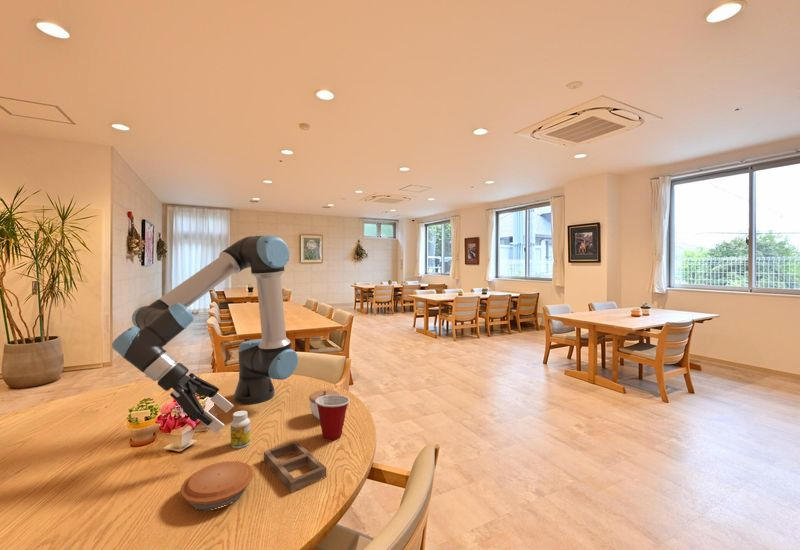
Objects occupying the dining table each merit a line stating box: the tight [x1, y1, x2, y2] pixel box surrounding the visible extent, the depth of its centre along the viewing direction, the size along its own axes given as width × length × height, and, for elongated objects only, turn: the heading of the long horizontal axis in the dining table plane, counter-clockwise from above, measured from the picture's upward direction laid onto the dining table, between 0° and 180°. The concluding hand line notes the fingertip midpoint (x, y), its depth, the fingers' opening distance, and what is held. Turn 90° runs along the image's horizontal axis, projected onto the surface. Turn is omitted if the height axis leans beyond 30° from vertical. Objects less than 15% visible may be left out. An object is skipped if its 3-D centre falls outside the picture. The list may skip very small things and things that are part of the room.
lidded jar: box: [308, 389, 341, 421], centre depth 127 cm, size 11×11×9 cm
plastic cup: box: [315, 394, 351, 441], centre depth 113 cm, size 11×11×12 cm
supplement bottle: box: [230, 410, 251, 449], centre depth 107 cm, size 5×5×10 cm
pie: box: [179, 460, 255, 511], centre depth 84 cm, size 16×16×5 cm
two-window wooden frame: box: [263, 440, 327, 493], centre depth 95 cm, size 18×10×2 cm, turn 41°
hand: (225, 418), depth 105 cm, fingers open, 13 cm apart
